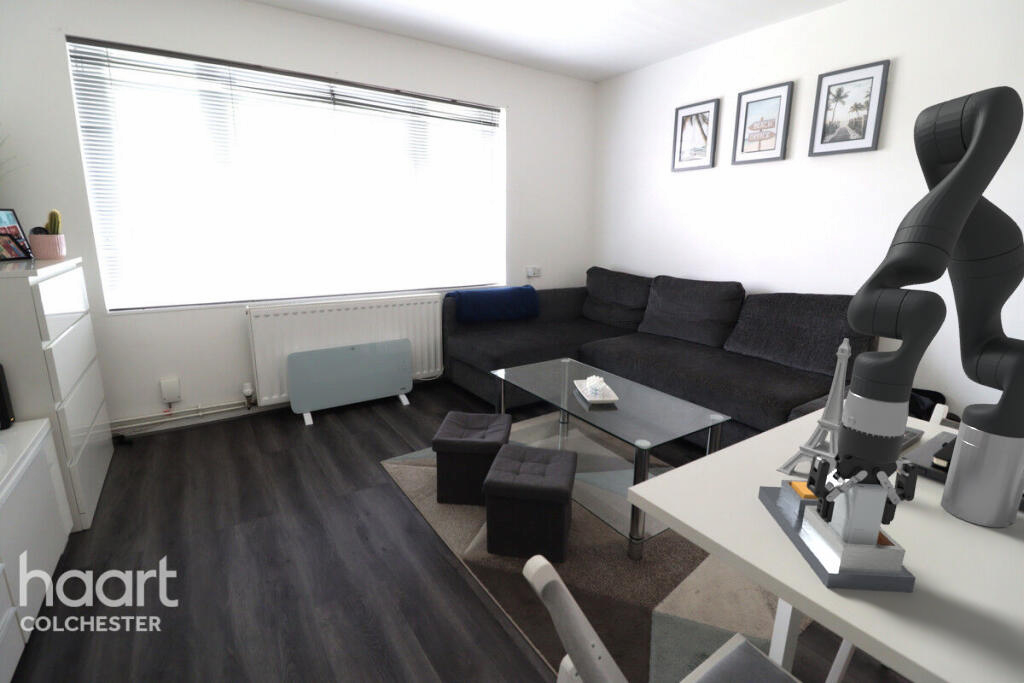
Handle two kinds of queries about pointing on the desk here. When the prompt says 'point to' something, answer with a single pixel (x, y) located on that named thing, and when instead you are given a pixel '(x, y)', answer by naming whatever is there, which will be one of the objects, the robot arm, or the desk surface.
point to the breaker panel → (836, 546)
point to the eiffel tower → (825, 419)
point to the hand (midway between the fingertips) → (853, 520)
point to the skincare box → (859, 513)
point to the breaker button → (803, 490)
